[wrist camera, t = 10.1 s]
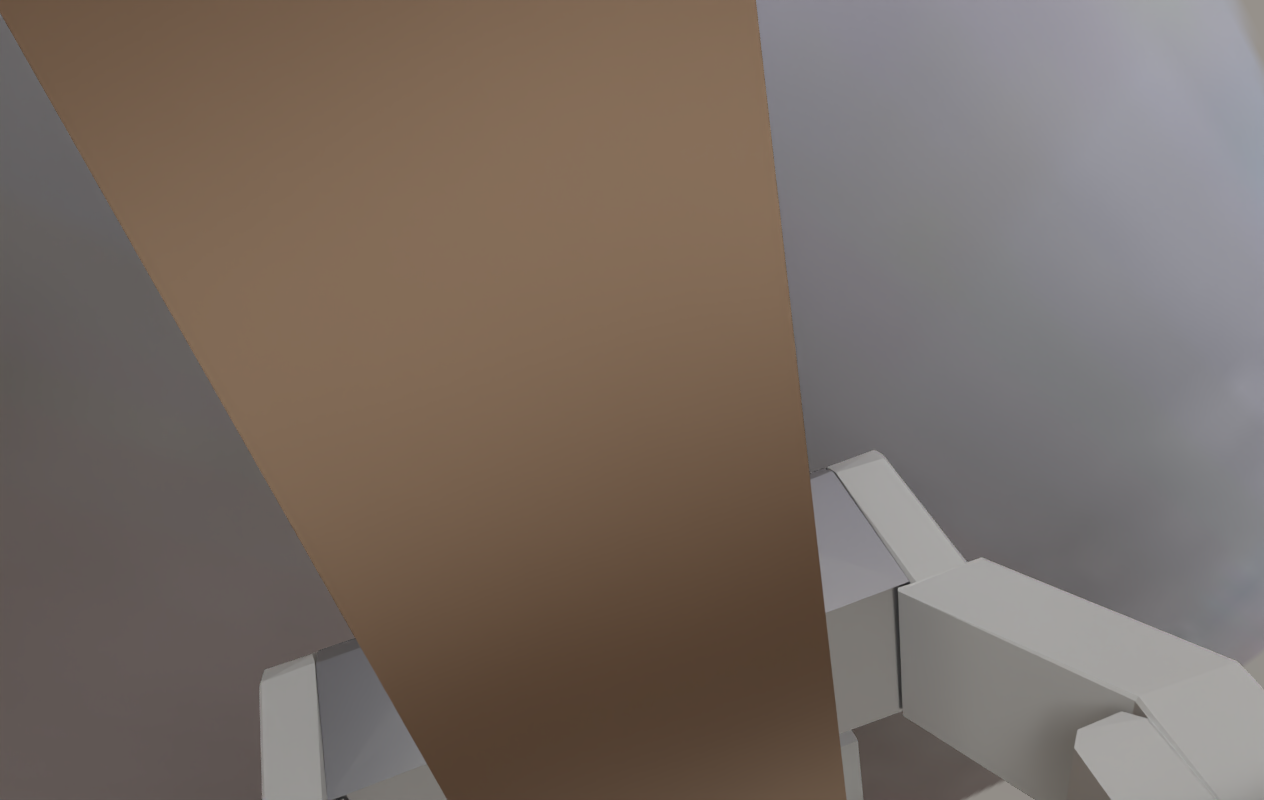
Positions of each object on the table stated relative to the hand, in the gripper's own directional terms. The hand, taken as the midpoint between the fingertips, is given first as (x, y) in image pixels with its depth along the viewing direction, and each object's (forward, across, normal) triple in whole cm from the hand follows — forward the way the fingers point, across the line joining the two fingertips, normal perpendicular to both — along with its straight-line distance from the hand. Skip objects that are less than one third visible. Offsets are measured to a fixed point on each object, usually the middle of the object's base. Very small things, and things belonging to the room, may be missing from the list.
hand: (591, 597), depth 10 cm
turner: (+2, 0, +3) cm, 3 cm away
